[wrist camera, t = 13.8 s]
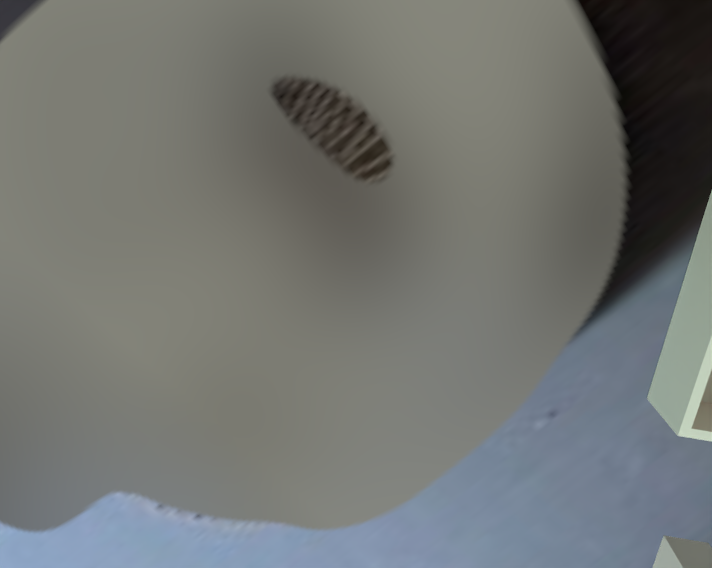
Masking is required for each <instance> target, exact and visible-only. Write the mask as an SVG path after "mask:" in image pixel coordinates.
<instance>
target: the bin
mask: <svg viewBox="0 0 712 568" xmlns="http://www.w3.org/2000/svg"><path fill="white" fill-rule="evenodd" d="M647 399H648V400H649V402H650V403H651V404H652V405H653V407H654V408H655V409H656V410H657V411H658V413H659V414H660V415H661V416H662V417H663V419H664V420H665V421H666V422H667V423H668V425H669V426H670V427H671V428H672V429H673V431H674V432H675V433H676V434H677V436H682V437H688V438H694V439H700V440H706V441H712V191H711V194H710V197H709V201H708V204H707V207H706V210H705V213H704V217H703V220H702V223H701V226H700V229H699V233H698V236H697V239H696V242H695V245H694V249H693V252H692V255H691V258H690V262H689V265H688V268H687V271H686V274H685V278H684V281H683V284H682V287H681V290H680V294H679V297H678V300H677V303H676V307H675V310H674V313H673V316H672V319H671V323H670V326H669V329H668V332H667V335H666V339H665V342H664V345H663V348H662V351H661V355H660V358H659V361H658V364H657V368H656V371H655V374H654V377H653V380H652V384H651V387H650V390H649V393H648V396H647Z"/></svg>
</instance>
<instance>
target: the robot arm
mask: <svg viewBox="0 0 712 568" xmlns="http://www.w3.org/2000/svg"><path fill="white" fill-rule="evenodd" d="M653 568H712V548H711V546H710V545H709V544H708V543H704V542H698V541H693V540H687V539H681V538H675V537H669V536H664V537H663V539H662V542H661V545H660V548H659V551H658V554H657V557H656V559H655V562H654V565H653Z"/></svg>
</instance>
